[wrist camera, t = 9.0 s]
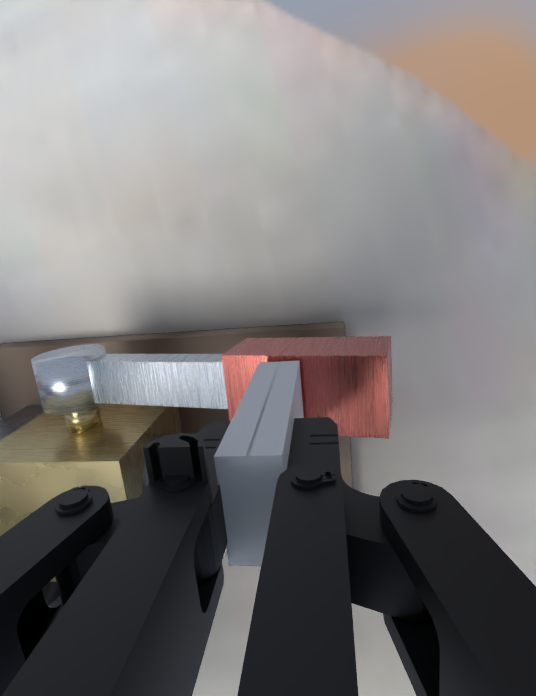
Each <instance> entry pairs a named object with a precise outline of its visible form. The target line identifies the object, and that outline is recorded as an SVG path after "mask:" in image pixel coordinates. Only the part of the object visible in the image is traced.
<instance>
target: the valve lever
mask: <svg viewBox="0 0 536 696" xmlns="http://www.w3.org/2000/svg"><path fill="white" fill-rule="evenodd" d="M280 361H299V362H300V375H301V388H302V401H303V414H304V418H317V417H330V418H331V419H332V420H333V421H334V422H335V423H336V424H337V425H338V435H342V436H358V437H374V438H389V434H390V425H391V416H392V362H391V336H379V337H298V338H246V339H244V340H243V341H241V342H240V343H239V344H237V345H236V346H234V347H233V348H231V349H230V350H229V351H227V352H226V353H224V354H106V351H105V347H104V346H103V345H97V344H88V345H77V346H70V347H65V348H60V349H56V350H52V351H48V352H45V353H42V354H39V355H37V356H35V357H34V358H32V359H31V363H32V367H33V371H34V375H35V380H36V384H37V388H38V392H39V396H40V400H41V404H42V408H43V411H44V412H45V413H48V414H55V415H60V414H70V413H76V412H81V411H85V410H88V409H92V408H95V407H97V406H100V405H102V404H104V403H107V404H128V405H149V406H171V407H192V408H213V409H228V412H229V420H230V422H231V420H232V418H233V416H234V414H235V412H236V410H237V408H238V406H239V404H240V402H241V400H242V397H243V395H244V393H245V391H246V389H247V387H248V385H249V383H250V381H251V379H252V377H253V375H254V373H255V371H256V369H257V366H258V364H259V363H261V362H280Z"/></svg>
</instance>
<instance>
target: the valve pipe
mask: <svg viewBox="0 0 536 696" xmlns="http://www.w3.org/2000/svg"><path fill="white" fill-rule="evenodd" d="M177 433H182V429H181V422H180V416H179V409H178V407H171V406H149V405H128V404H107V403H104V404H102V405H100V406H97V407H95V408H92V409H88V410H85V411H81V412H76V413H70V414H60V415H55V414H48V413H45V412H44V411H43V408H42V405H29V406H26V407H24V408H23V409H21V410H19V411H17V412H16V413H14V414H12V415H11V416H9V417H7V418H6V419H4V420H2V421H1V422H0V536H1V535H2V534H4V533H5V532H7V531H8V530H9V529H11V528H12V527H13V526H15V525H16V524H18V523H19V522H20V521H22V520H23V519H24V518H26V517H27V516H29V515H30V514H31V513H33V512H34V511H36V510H37V509H38V508H40V507H41V506H42V505H44V504H45V503H47V502H48V501H49V500H51V499H52V498H54V497H56V496H57V495H59V494H61V493H63V492H65V491H68V490H70V489H72V488H74V487H81V486H85V485H88V486H100V487H103V488H105V489H106V490H107V492H108V493H109V497H110V502H111V503H114V502H119V501H123V500H128V499H133V498H137V497H140V495H141V494H142V492H143V491H144V489H145V488H146V486H147V485H148V484H149V479H148V473H147V468H146V462H145V457H144V452H143V447H145V446H146V445H147V444H148V443H149V442H151V441H153V440H155V439H157V438H159V437H163V436H166V435H170V434H177ZM193 434H196V435H197V434H198V433H193ZM51 581H53V582H56V579H55V577H54V578H53V579H52V580H51Z"/></svg>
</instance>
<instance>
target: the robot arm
mask: <svg viewBox="0 0 536 696" xmlns="http://www.w3.org/2000/svg"><path fill="white" fill-rule="evenodd" d="M143 452H144V457H145V462H146V468H147V473H148V479H149V484H148V485H147V486H146V488H145V489H144V491H143V492H142V494H141V495H140V497H137V498H133V499H128V500H123V501H119V502H114V503H111V502H110V497H109V493H108V492H107V490H106V489H105V488H103V487H100V486H88V485H85V486H81V487H74V488H72V489H70V490H68V491H65V492H63V493H61V494H59V495H57V496H56V497H54V498H52V499H51V500H49V501H48V502H47V503H45V504H44V505H42V506H41V507H40V508H38V509H37V510H36V511H34V512H33V513H31V514H30V515H29V516H27V517H26V518H24V519H23V520H22V521H20V522H19V523H18V524H16V525H15V526H13V527H12V528H11V529H9V530H8V531H7V532H5V533H4V534H2V535H1V536H0V696H192V693H193V690H194V686H195V683H196V679H197V676H198V672H199V669H200V665H201V662H202V658H203V655H204V651H205V647H206V644H207V640H208V637H209V633H210V630H211V626H212V623H213V619H214V616H215V612H216V609H217V605H218V602H219V598H220V594H221V591H222V587H223V581H224V574H223V567H222V558H223V555H224V552H225V549H226V547H227V554H228V561H229V565H238V566H261V571H260V576H259V582H258V587H257V593H256V598H255V603H254V609H253V614H252V620H251V625H250V631H249V636H248V642H247V647H246V652H245V658H244V663H243V669H242V674H241V680H240V685H239V690H238V696H358V686H357V672H356V659H355V646H354V633H353V619H352V606H351V603H353V604H356V605H359V606H363V607H366V608H369V609H372V610H375V611H378V612H381V613H383V616H384V621H385V624H386V626H387V629H388V631H389V633H390V636H391V638H392V640H393V643H394V645H395V647H396V649H397V652H398V654H399V656H400V659H401V661H402V663H403V665H404V668H405V670H406V672H407V675H408V677H409V679H410V681H411V684H412V686H413V688H414V691H415V693H416V695H417V696H536V586H535V585H534V584H533V583H532V582H531V581H530V580H529V579H528V578H527V577H526V575H525V574H524V573H523V572H522V571H521V570H520V569H519V568H518V567H517V566H516V565H515V563H514V562H513V561H512V560H511V559H510V558H509V557H508V556H507V555H506V554H505V553H504V551H503V550H502V549H501V548H500V547H499V546H498V545H497V544H496V543H495V542H494V541H493V539H492V538H491V537H490V536H489V535H488V534H487V533H486V532H485V531H484V530H483V529H482V528H481V526H480V525H479V524H478V523H477V522H476V521H475V520H474V519H473V518H472V517H471V516H470V514H469V513H468V512H467V511H466V510H465V509H464V508H463V507H462V506H461V505H460V504H459V502H458V501H457V500H456V499H455V498H454V497H453V496H452V495H451V494H450V493H448V492H447V491H446V490H444V489H443V488H442V487H439V486H437V485H434V484H432V483H429V482H425V481H419V480H402V481H398V482H395V483H391V484H389V485H388V486H387V487H385V488H384V489H382V492H381V494H380V497H377V496H372V495H368V494H365V493H361V492H359V491H357V490H355V489H353V488H351V487H350V486H349V485H347V484H346V483H345V481H344V480H343V478H342V475H341V466H340V452H339V438H338V425H337V424H336V423H335V422H334V421H333V420H332V419H331V418H330V417H317V418H304V414H303V401H302V388H301V375H300V362H299V361H280V362H261V363H259V364H258V366H257V369H256V371H255V373H254V375H253V377H252V379H251V381H250V383H249V385H248V387H247V389H246V391H245V393H244V395H243V397H242V400H241V402H240V404H239V406H238V408H237V410H236V412H235V414H234V416H233V418H232V420H231V422H211V423H210V424H208V425H207V426H205V427H204V428H202V429H201V430H200V431H199V432H198V434H197V435H196V434H193V433H177V434H170V435H166V436H163V437H159V438H157V439H155V440H153V441H151V442H149V443H148V444H147V445H146V446H145V447H143ZM54 577H55V579H56V582H53V581H51V580H52V579H53V578H54Z"/></svg>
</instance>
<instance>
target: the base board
mask: <svg viewBox="0 0 536 696" xmlns="http://www.w3.org/2000/svg"><path fill="white" fill-rule="evenodd" d="M298 337H345V326H344V322H329V323H313V324H298V325H282V326H266V327H251V328H235V329H219V330H204V331H188V332H173V333H157V334H141V335H126V336H110V337H94V338H79V339H63V340H47V341H32V342H16V343H1V344H0V412H1V415H2V419H3V420H4V419H6V418H7V417H9V416H11V415H12V414H14V413H16V412H17V411H19V410H21V409H23V408H24V407H26V406H29V405H42V404H41V400H40V396H39V392H38V388H37V384H36V380H35V375H34V371H33V367H32V363H31V359H32V358H34V357H35V356H37V355H39V354H42V353H45V352H48V351H52V350H56V349H60V348H65V347H70V346H77V345H88V344H97V345H103V346H104V347H105V351H106V354H224V353H226V352H227V351H229V350H230V349H231V348H233V347H234V346H236V345H237V344H239V343H240V342H241V341H243V340H244V339H246V338H298ZM178 409H179V416H180V422H181V429H182V433H198V432H199V431H200V430H201V429H202V428H204V427H205V426H207V425H208V424H210V423H211V422H230V420H229V412H228V409H213V408H192V407H178ZM338 438H339V452H340V466H341V475H342V478H343V480H344V481H345V483H346V484H347V485H349V486H350V487H351V488H352V472H351V450H350V436H342V435H338Z"/></svg>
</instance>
